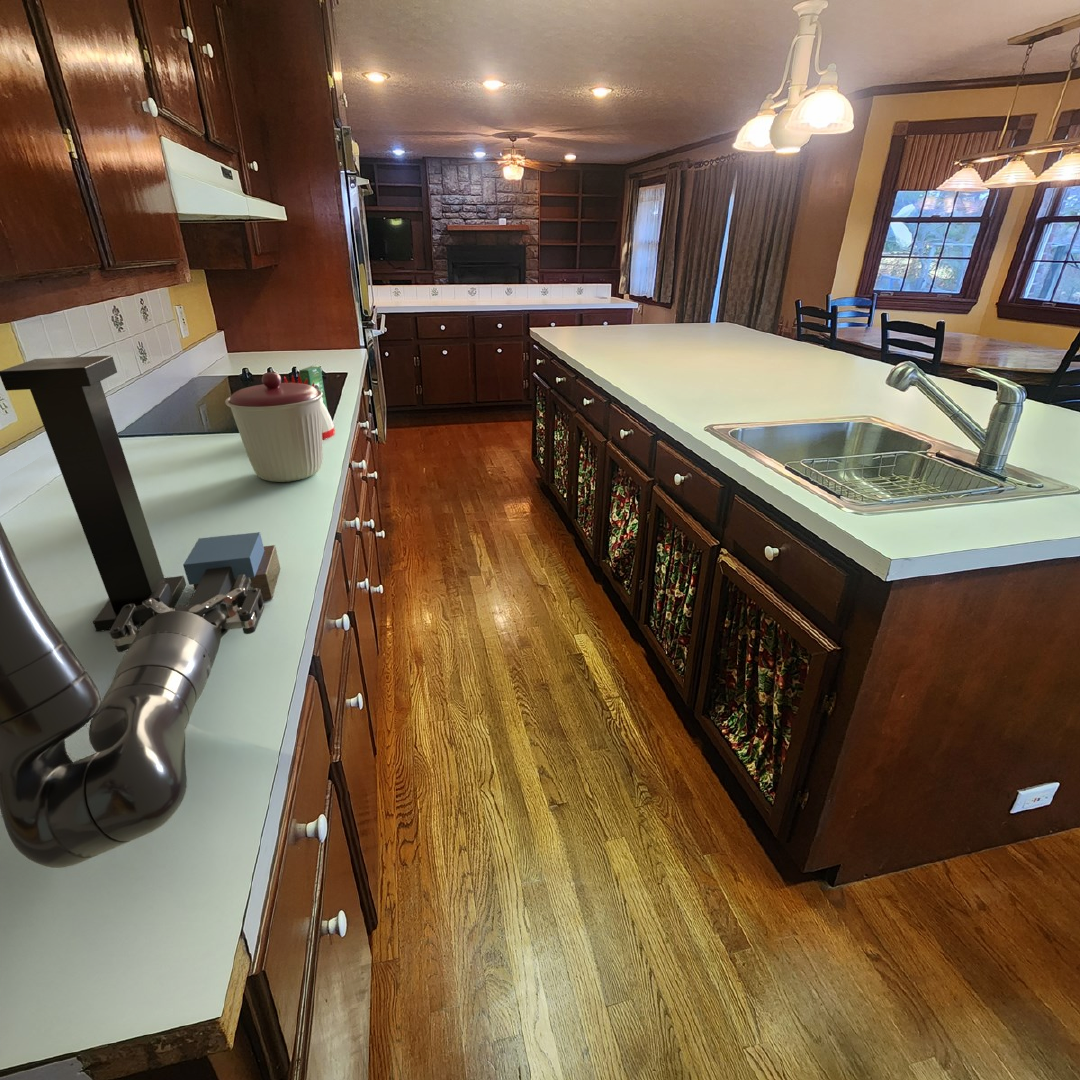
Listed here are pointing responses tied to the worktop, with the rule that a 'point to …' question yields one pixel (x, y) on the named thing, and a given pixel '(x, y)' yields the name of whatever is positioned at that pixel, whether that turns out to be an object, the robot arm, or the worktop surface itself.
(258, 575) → the brown wooden block
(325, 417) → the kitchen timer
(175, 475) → the worktop surface
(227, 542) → the back pad
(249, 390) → the canister
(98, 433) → the stand
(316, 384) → the coffee box
